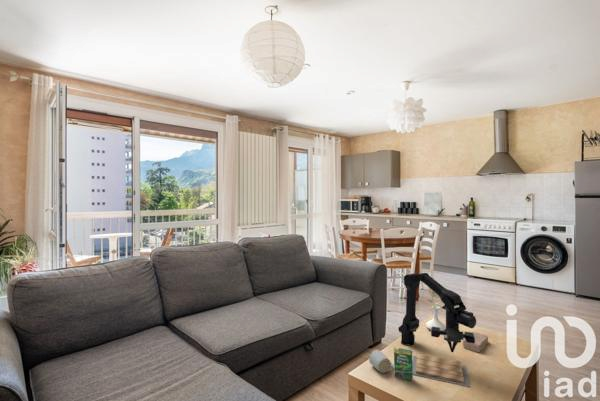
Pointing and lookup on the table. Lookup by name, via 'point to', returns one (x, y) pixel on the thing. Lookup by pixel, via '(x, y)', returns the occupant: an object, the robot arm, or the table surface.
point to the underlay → (442, 379)
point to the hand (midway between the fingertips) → (452, 352)
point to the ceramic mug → (380, 361)
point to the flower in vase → (435, 314)
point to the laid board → (440, 373)
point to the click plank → (439, 362)
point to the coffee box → (403, 363)
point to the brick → (476, 342)
